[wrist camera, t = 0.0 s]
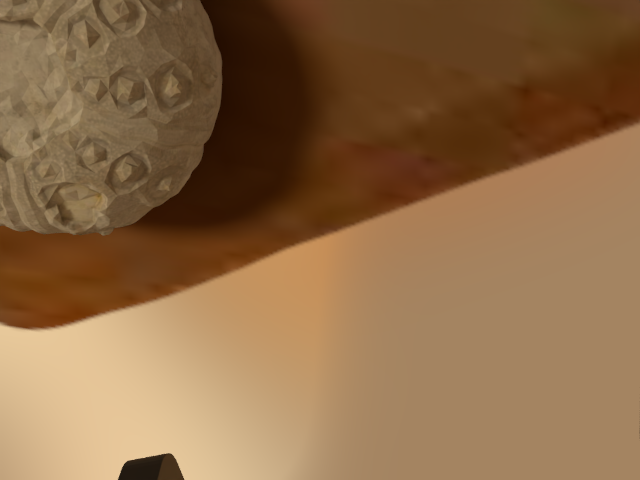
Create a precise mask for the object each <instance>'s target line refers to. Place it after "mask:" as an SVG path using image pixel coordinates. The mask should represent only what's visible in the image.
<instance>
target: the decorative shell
mask: <svg viewBox="0 0 640 480" xmlns="http://www.w3.org/2000/svg"><path fill="white" fill-rule="evenodd" d="M221 93H222V58H221V53H220V51H219V49H218V46H217V44H216V41H215V38H214V33H213V28H212V24H211V22H210V19H209V16H208V14H207V13H206V11H205V10H204V8H203V6H202V4H201V1H200V0H0V226H1V225H5V226H7V227H9V228H11V229H14V230H17V231H29V230H34V231H36V232H39V233H42V234H50V233H71V234H73V235H76V234H79V235H83V234H88V233H94V232H98V233H100V234H102V235H108V234H110V233H111V232H112V231H113V229H114V228H117V227H123V226H127V225H131V224H133V223H135V222H136V221H138V220H139V219H140V218H141V217H142V216H144V215H145V214H146V213H148V212H149V211H150V210H151V209H152V208H154V207H157V206H160V205H161V204H163V203H164V202H165V201H167V200H168V199H170V198H171V197H173V196H175V195H176V194H178V193H179V192H180V190H181V189H182V187H183V186H184V185H185V183H186V182H187V181H188V179H189V178H190V175H191V173H192V171H193V170H194V169H195V168H196V167H197V166H198V164H199V163H200V161H201V159H202V155H203V151H204V143H205V142H206V141H207V140H209V138H210V136H211V134H212V131H213V129H214V125H215V121H216V118H217V115H218V112H219V108H220V103H221Z"/></svg>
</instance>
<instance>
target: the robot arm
mask: <svg viewBox="0 0 640 480" xmlns="http://www.w3.org/2000/svg"><path fill="white" fill-rule="evenodd" d="M118 480H184V478H183V476H182V473H181V471H180V468H179V466H178V463H177V461H176V459H175V458H174V456H173V455H172V454H169V453H168V454H162V455H157V456H151V457H146V458H141V459H135V460H130V461H127V462H126V463H125V464H124V466H123V467H122V470H121V473H120V476H119V479H118Z"/></svg>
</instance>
